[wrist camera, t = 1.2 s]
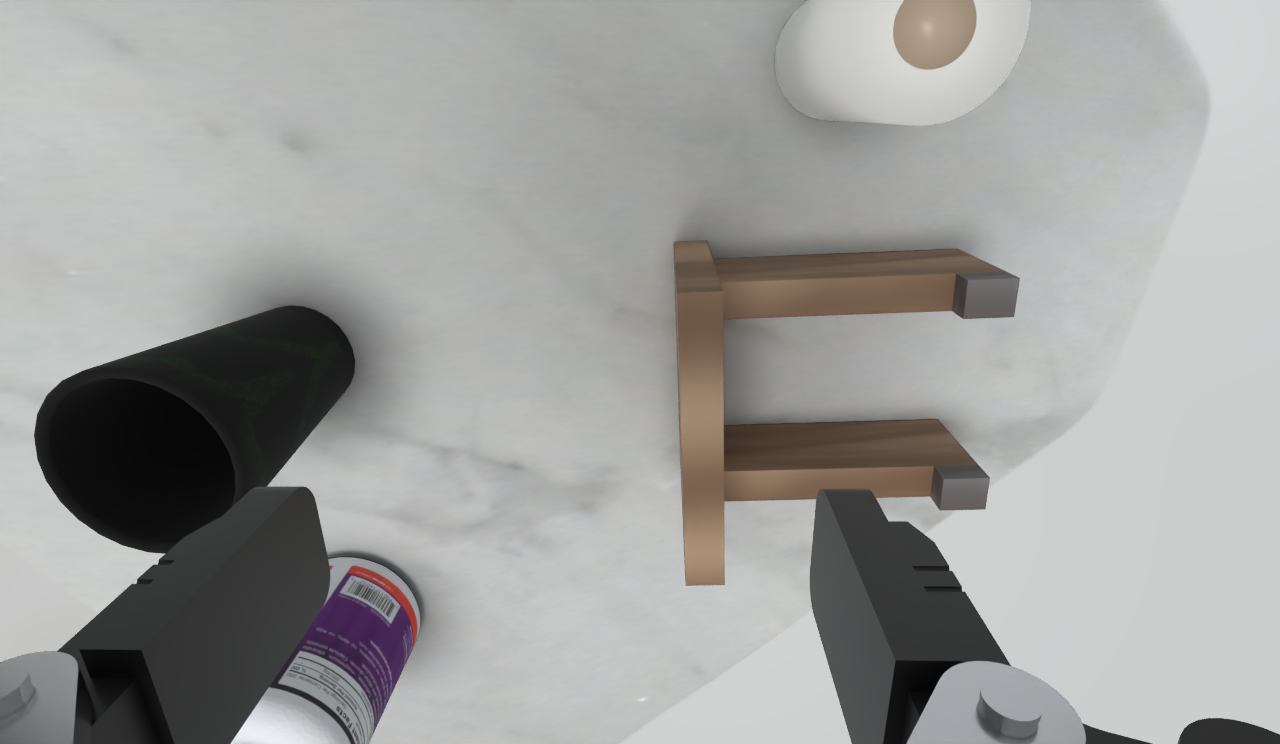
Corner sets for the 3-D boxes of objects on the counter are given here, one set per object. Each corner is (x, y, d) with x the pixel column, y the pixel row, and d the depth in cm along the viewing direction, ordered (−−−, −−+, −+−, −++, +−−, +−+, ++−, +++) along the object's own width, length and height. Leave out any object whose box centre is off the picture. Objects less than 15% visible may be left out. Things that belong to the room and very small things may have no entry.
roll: (775, -6, 29) (845, -79, 18) (898, -14, 29) (1047, -92, 18) (773, 123, 31) (835, 130, 20) (889, 117, 31) (1018, 121, 20)
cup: (386, 312, 35) (256, 406, 24) (362, 439, 38) (234, 578, 27) (236, 266, 35) (30, 340, 23) (222, 398, 37) (31, 522, 26)
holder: (673, 242, 33) (676, 293, 24) (959, 229, 33) (1077, 277, 23) (680, 467, 38) (685, 585, 28) (933, 461, 37) (1023, 579, 28)
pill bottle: (305, 653, 43) (143, 897, 30) (284, 545, 40) (94, 762, 27) (432, 658, 43) (326, 907, 30) (420, 551, 40) (298, 772, 27)
